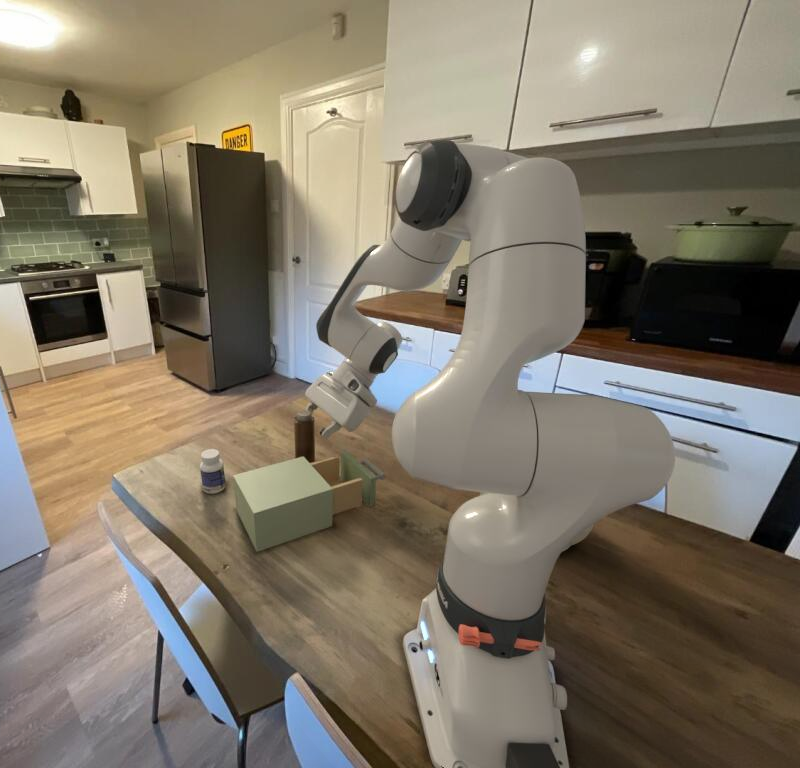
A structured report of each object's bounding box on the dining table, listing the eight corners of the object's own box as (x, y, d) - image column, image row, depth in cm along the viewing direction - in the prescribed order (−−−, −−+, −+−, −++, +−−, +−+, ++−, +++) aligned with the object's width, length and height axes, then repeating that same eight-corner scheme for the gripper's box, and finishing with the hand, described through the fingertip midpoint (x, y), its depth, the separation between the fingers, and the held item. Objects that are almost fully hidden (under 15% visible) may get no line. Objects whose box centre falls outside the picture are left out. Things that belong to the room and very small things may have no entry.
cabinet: (304, 489, 91) (303, 456, 88) (332, 525, 80) (332, 488, 77) (236, 510, 85) (232, 475, 82) (256, 552, 74) (253, 513, 71)
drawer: (361, 471, 95) (361, 445, 93) (391, 499, 85) (393, 471, 83) (287, 493, 88) (286, 466, 86) (311, 527, 78) (310, 497, 76)
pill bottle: (228, 490, 92) (224, 456, 88) (205, 496, 90) (200, 462, 86) (222, 478, 96) (219, 445, 93) (200, 483, 94) (196, 450, 91)
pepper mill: (313, 471, 97) (312, 418, 92) (293, 470, 98) (291, 416, 93) (316, 461, 101) (315, 409, 96) (297, 459, 103) (296, 407, 97)
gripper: (320, 362, 104) (287, 404, 104) (365, 390, 87) (325, 440, 87) (335, 376, 107) (303, 416, 107) (382, 405, 90) (343, 453, 90)
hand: (313, 427), depth 97 cm, fingers open, 8 cm apart
